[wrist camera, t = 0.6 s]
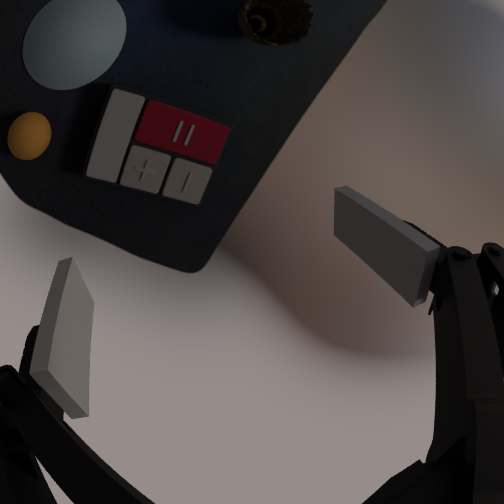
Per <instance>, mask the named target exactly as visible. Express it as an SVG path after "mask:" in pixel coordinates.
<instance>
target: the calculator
mask: <svg viewBox="0 0 504 504" xmlns="http://www.w3.org/2000/svg"><path fill="white" fill-rule="evenodd" d="M233 128H234V126H233V124H231V123H230V122H227V121H225V120H223V119H220V118H218V117H215V116H213V115H210V114H207V113H205V112H202V111H199V110H196V109H194V108H191V107H188V106H185V105H182V104H180V103H177V102H174V101H171V100H168V99H165V98H162V97H159V96H156V95H152V94H149V93H146V92H143V91H140V90H137V89H133V88H130V87H127V86H123V85H120V84H113V85H111V86H110V88H109V91H108V94H107V96H106V99H105V102H104V104H103V107H102V110H101V113H100V116H99V119H98V121H97V124H96V128H95V131H94V134H93V137H92V140H91V143H90V147H89V150H88V154H87V157H86V161H85V164H84V168H83V172H82V177H83V178H85V179H89V180H93V181H97V182H101V183H105V184H109V185H113V186H118V187H122V188H126V189H130V190H134V191H137V192H141V193H145V194H149V195H153V196H157V197H161V198H165V199H169V200H172V201H176V202H180V203H184V204H188V205H191V206H195V207H199V206H200V205H201V203H202V200H203V198H204V195H205V193H206V191H207V188H208V186H209V183H210V181H211V179H212V176H213V174H214V171H215V169H216V167H217V164H218V162H219V160H220V158H221V155H222V153H223V151H224V148H225V146H226V144H227V142H228V139H229V137H230V135H231V133H232V130H233Z"/></svg>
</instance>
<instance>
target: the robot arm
mask: <svg viewBox="0 0 504 504" xmlns="http://www.w3.org/2000/svg"><path fill="white" fill-rule="evenodd" d="M334 204H335V205H334V235H335V236H336V237H337V238H338V239H339V240H340V241H341V242H343V243H344V244H345V245H346V246H347V247H348V248H349V249H351V250H352V251H353V252H354V253H355V254H356V255H357V256H358V257H360V258H361V259H362V260H363V261H364V262H365V263H366V264H367V265H368V266H369V267H371V268H372V269H373V270H374V271H375V272H376V273H377V274H378V275H379V276H380V277H382V278H383V279H384V280H385V281H386V282H387V283H388V284H389V285H390V286H391V287H392V288H393V289H394V290H395V291H396V292H398V293H399V294H400V295H401V296H402V297H403V298H404V299H405V300H406V301H407V302H408V303H409V304H410V305H411V306H412V307H413V308H414V307H416V306H418V305H420V304H421V303H424V302H425V301H426V299H427V295H428V292H429V290H430V291H431V292H432V293H433V294H434V297H433V300H432V303H431V306H430V309H429V313H428V315H431V312H432V311H433V315H434V329H435V350H436V400H435V420H434V434H433V440H432V444H431V446H430V449H429V451H428V454H427V457H426V463H422V462H421V461H420V460H418V461H416V462H415V463H413V464H412V465H410V466H409V467H407V468H406V469H404V470H403V471H401V472H399V473H398V474H396V475H394V476H393V477H391V478H390V479H389V480H388V481H387V482H386V483H385V484H383V485H382V486H381V487H380V488H379V489H378V490H377V491H376V492H375V493H374V494H372V495H371V496H370V497H369V498H368V499H367V500H365V501H364V502H363V503H362V504H504V379H503V378H504V248H503V247H501V246H499V245H498V244H495V243H490V242H489V243H485V244H484V245H483V247H482V251H481V253H479V254H472V253H471V252H470V251H468V250H467V249H465V248H463V247H459V246H452V247H449V248H447V247H446V246H444V245H443V244H442V243H440V242H439V241H437V240H436V239H435V238H433V237H432V236H430V235H427V233H426V232H424V231H423V230H422V231H421V229H420V228H418V227H417V226H415V225H414V224H412V223H409V222H406V221H403V220H401V219H399V218H398V217H396V216H395V215H393V214H392V213H390V212H389V211H387V210H385V209H384V208H382V207H381V206H379V205H378V204H376V203H374V202H373V201H371V200H370V199H368V198H366V197H365V196H363V195H361V194H360V193H358V192H356V191H355V190H353V189H351V188H350V187H348V186H343V187H339V188H335V203H334ZM496 285H498V288H499V292H498V294H497V295H496V294H495V292H494V290H495V287H496ZM93 310H94V301H93V299H92V297H91V295H90V293H89V291H88V289H87V287H86V285H85V282H84V280H83V278H82V276H81V274H80V272H79V270H78V267H77V265H76V263H75V261H74V259H73V257H71V258H67V259H64V260H61V261H59V263H58V266H57V268H56V271H55V274H54V278H53V281H52V284H51V287H50V290H49V293H48V297H47V300H46V304H45V308H44V311H43V314H42V318H41V322H40V325H37V326H33V328H32V329H31V331H30V333H29V334H28V336H27V339H26V342H25V348H24V350H23V356H22V359H21V364H20V368H19V373H18V372H17V371H16V369H15V368H13V367H12V366H11V365H4V366H1V367H0V504H57V502H56V500H55V498H54V496H53V494H52V492H51V490H50V488H49V486H48V484H47V482H46V480H45V478H44V476H43V473H42V471H41V469H40V467H39V464H38V462H37V460H36V458H37V459H38V460H39V461H40V463H41V464H42V466H43V467H44V468H45V470H46V471H47V472H48V473H49V475H50V476H51V477H52V478H53V480H54V481H55V482H56V483H57V485H58V486H59V487H60V488H61V489H62V491H63V492H64V493H65V494H66V495H67V496H68V497H69V499H70V500H71V501H72V502H73V503H74V504H155V503H154V502H152V501H151V500H150V499H148V498H147V497H146V496H145V495H143V494H142V493H141V492H139V491H138V490H137V489H136V488H134V487H133V486H132V485H131V484H129V483H128V482H127V481H126V480H125V479H124V478H122V477H121V476H120V475H119V474H118V473H117V472H116V471H114V470H113V469H112V468H111V467H110V466H109V465H108V464H106V463H105V462H104V461H103V460H102V459H101V458H100V457H99V456H98V455H97V454H96V453H95V452H94V451H93V450H92V449H91V448H90V447H89V446H88V445H87V444H86V443H85V442H84V441H83V440H82V439H81V438H80V437H79V436H78V435H77V434H76V433H75V432H74V431H73V429H72V428H71V427H70V426H69V425H68V424H67V423H66V422H65V421H64V420H63V415H64V412H66V414H67V415H68V416H69V417H70V418H71V419H75V418H82V417H88V416H89V368H90V367H89V366H90V347H91V333H92V321H93ZM35 456H36V457H35Z"/></svg>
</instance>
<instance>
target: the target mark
mask: <svg viewBox="0 0 504 504" xmlns="http://www.w3.org/2000/svg"><path fill="white" fill-rule="evenodd" d="M125 36H126V20H125V15H124V12H123V10H122V8H121V6H120V5H119V3H118V2H117V1H116V0H52V1H50V2H49V3H48V4H46V5H45V6H44V7H43V8H42V9H41V10H40V11H39V12H38V13H37V15H36V16H35V17H34V19H33V20H32V22H31V23H30V25H29V27H28V29H27V32H26V35H25V38H24V42H23V60H24V64H25V67H26V69H27V71H28V73H29V74H30V76H31V77H32V78H33V79H34V80H35V81H36V82H37V83H39V84H40V85H42V86H44V87H47V88H50V89H55V90H68V89H74V88H78V87H81V86H83V85H86V84H88V83H90V82H92V81H93V80H95V79H96V78H98V77H99V76H100V75H102V74H103V73H104V72H105V71H106V70H107V69H108V68H109V67H110V66H111V65H112V63H113V62H114V61H115V59H116V58H117V56H118V55H119V53H120V51H121V49H122V46H123V43H124V40H125Z"/></svg>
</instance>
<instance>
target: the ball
mask: <svg viewBox="0 0 504 504" xmlns="http://www.w3.org/2000/svg"><path fill="white" fill-rule="evenodd" d="M50 138H51V127H50V124H49V122H48V120H47V119H46V118H45V117H44V116H43V115H42V114H40V113H37V112H28V113H25V114H22V115H21V116H19V117H18V118H17V119H16V120H15V121H14V122H13V123H12V125H11V127H10V129H9V132H8V146H9V149H10V151H11V152H12V154H13V155H14V156H16V157H17V158H19V159H22V160H31V159H34V158H36V157H38V156H40V155H41V154H42V153H43V152H44V151H45V149H46V148H47V146H48V144H49V142H50Z"/></svg>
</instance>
